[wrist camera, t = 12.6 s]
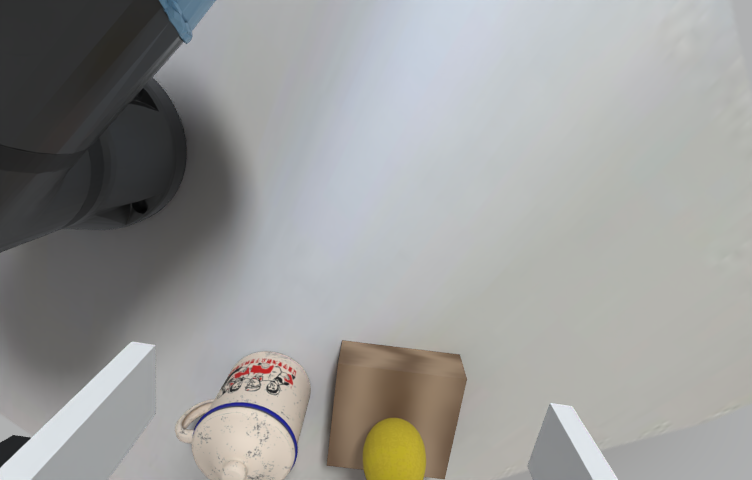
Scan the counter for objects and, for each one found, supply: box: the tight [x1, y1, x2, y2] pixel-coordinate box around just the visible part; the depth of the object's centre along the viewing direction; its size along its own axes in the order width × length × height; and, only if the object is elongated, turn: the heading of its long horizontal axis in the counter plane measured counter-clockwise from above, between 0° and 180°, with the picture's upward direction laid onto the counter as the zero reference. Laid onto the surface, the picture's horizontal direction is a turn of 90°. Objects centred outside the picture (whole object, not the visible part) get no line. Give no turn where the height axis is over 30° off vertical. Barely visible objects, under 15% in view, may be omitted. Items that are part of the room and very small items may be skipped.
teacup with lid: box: [175, 351, 311, 480], centre depth 39 cm, size 12×9×12 cm
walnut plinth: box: [327, 341, 467, 479], centre depth 42 cm, size 12×12×4 cm
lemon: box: [363, 418, 426, 480], centre depth 37 cm, size 6×6×8 cm
